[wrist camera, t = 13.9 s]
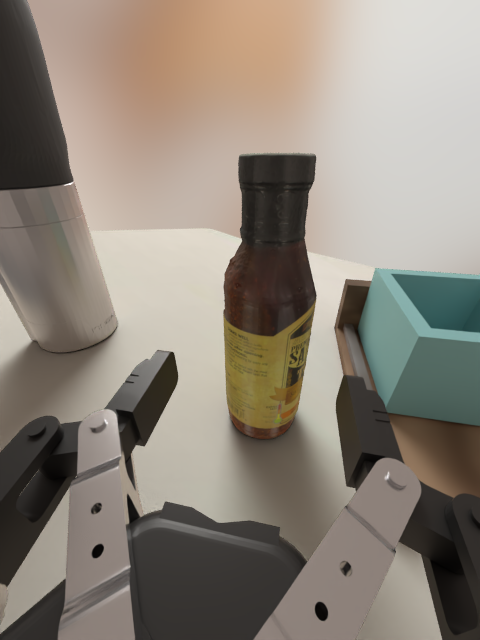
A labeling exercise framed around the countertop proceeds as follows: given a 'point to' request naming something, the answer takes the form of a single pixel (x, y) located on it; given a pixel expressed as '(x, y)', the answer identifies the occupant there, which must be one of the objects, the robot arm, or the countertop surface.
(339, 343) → the track board
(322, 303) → the countertop surface
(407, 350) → the holder
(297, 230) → the sauce bottle
